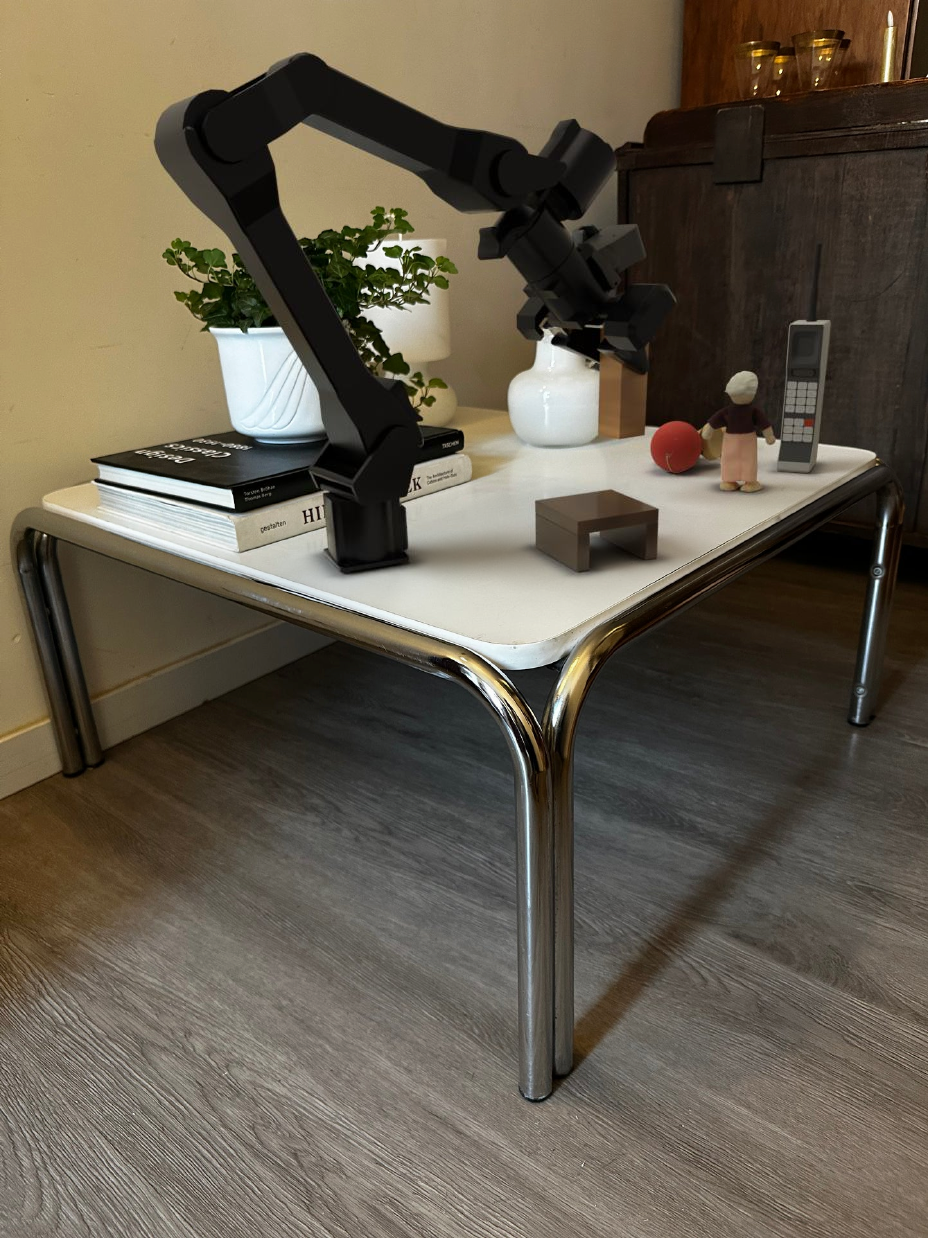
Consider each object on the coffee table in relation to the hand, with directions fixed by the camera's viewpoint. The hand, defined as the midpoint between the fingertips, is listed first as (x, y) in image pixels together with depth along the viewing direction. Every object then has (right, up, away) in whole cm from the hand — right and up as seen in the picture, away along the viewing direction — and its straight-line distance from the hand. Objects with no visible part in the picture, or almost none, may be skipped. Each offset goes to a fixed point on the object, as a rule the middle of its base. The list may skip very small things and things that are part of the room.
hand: (633, 369), depth 96 cm
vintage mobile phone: (+22, -8, +15) cm, 28 cm away
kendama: (+11, -6, +20) cm, 24 cm away
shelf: (-6, -20, -12) cm, 24 cm away
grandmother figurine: (+13, -11, +7) cm, 18 cm away
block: (-1, -6, +2) cm, 7 cm away
